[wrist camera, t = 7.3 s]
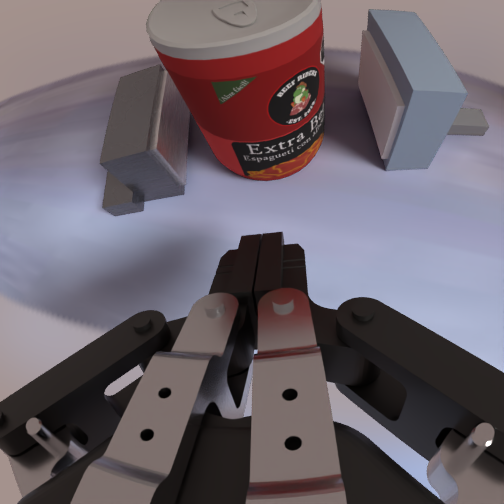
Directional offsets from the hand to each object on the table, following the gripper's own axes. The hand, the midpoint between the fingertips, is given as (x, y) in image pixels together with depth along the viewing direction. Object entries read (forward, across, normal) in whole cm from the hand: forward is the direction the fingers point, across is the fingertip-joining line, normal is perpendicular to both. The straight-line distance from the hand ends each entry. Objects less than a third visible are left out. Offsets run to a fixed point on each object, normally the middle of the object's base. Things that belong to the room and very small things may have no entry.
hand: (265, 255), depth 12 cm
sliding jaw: (+11, -11, -3) cm, 16 cm away
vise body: (+11, +7, -3) cm, 14 cm away
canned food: (+12, 0, -3) cm, 12 cm away
